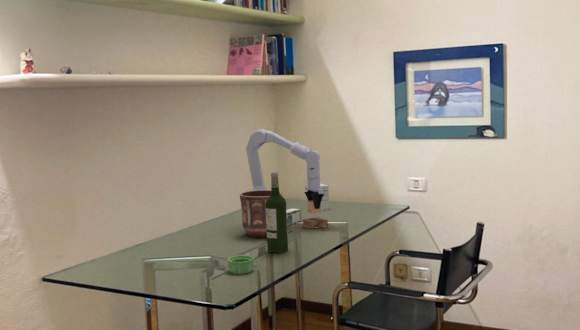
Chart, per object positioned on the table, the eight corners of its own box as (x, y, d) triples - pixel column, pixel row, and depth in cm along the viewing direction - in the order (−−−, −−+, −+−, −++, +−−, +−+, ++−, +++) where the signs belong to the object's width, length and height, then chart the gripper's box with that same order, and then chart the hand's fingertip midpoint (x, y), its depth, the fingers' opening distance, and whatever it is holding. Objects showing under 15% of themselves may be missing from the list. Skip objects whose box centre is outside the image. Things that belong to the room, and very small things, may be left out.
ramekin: (222, 272, 209) (221, 259, 209) (240, 266, 216) (239, 253, 216) (242, 276, 204) (241, 263, 203) (259, 269, 211) (259, 257, 210)
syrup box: (302, 221, 288) (283, 227, 277) (292, 219, 292) (272, 225, 280) (301, 209, 287) (282, 214, 276) (291, 208, 291) (272, 213, 280)
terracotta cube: (311, 213, 271) (311, 202, 271) (307, 211, 276) (307, 200, 275) (321, 212, 273) (320, 201, 273) (316, 210, 277) (316, 199, 277)
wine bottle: (263, 251, 235) (259, 173, 231) (278, 247, 240) (274, 171, 237) (277, 254, 229) (273, 174, 226) (292, 250, 235) (289, 172, 231)
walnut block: (312, 229, 270) (312, 222, 270) (303, 226, 277) (302, 219, 277) (327, 227, 274) (327, 219, 273) (318, 224, 281) (318, 217, 280)
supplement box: (310, 208, 318) (309, 184, 316) (322, 207, 321) (321, 183, 319) (316, 211, 311) (315, 186, 310) (329, 209, 314) (328, 184, 313)
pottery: (246, 241, 252) (244, 197, 250) (238, 232, 269) (236, 191, 267) (287, 237, 257) (286, 194, 255) (277, 229, 274) (275, 189, 272)
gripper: (329, 178, 268) (330, 209, 269) (314, 175, 281) (315, 204, 283) (314, 180, 265) (315, 211, 267) (300, 176, 278) (301, 206, 280)
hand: (314, 207), depth 274 cm, fingers closed on terracotta cube, 4 cm apart
